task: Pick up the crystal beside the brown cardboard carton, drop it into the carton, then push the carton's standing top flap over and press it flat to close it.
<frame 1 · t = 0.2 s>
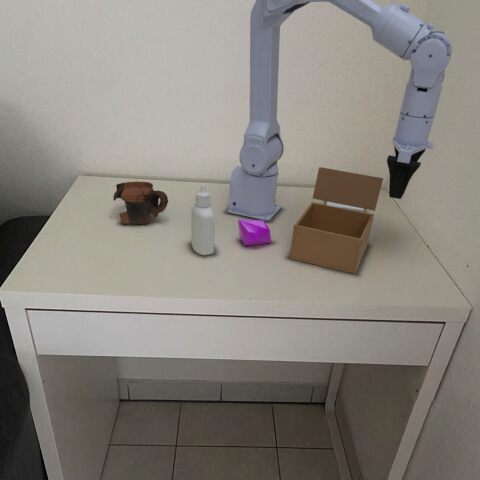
hand: (397, 190, 92), 10 cm above the table, tool pointing down, fingers open, 7 cm apart
pottery mug: (142, 217, 101), on the table
crystal: (254, 243, 94), on the table
carton: (329, 251, 92), on the table
eye dropper bottle: (202, 249, 91), on the table
carton flap: (346, 188, 92), point 10 cm above the table, hinge at 110.0°
hard drive: (344, 204, 112), on the table
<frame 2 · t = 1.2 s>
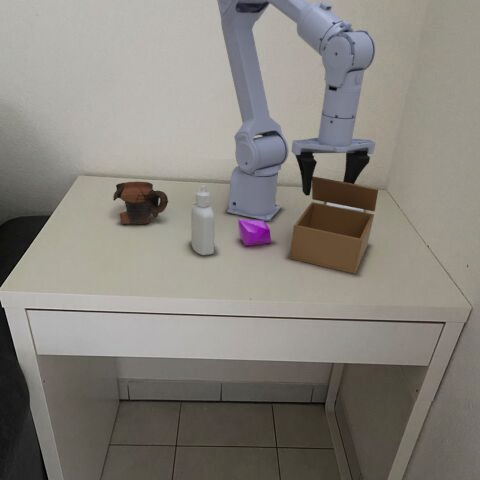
hand: (326, 192, 90), 10 cm above the table, tool pointing down, fingers open, 7 cm apart
carton flap: (343, 194, 90), point 10 cm above the table, hinge at 60.4°, touching gripper
everything else where it was.
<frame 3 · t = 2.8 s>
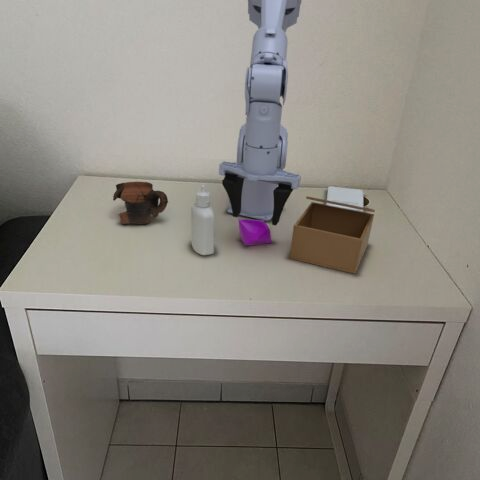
hand: (255, 219, 91), 5 cm above the table, tool pointing down, fingers open, 7 cm apart
carton flap: (340, 204, 90), point 8 cm above the table, hinge at 22.1°
everything else where it was.
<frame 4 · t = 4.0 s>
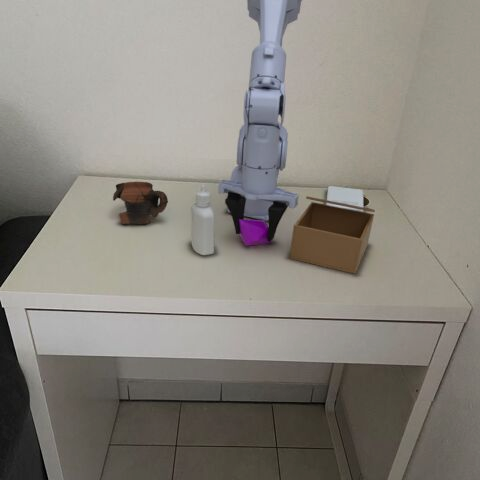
hand: (254, 235, 93), 1 cm above the table, tool pointing down, fingers closed on crystal, 6 cm apart
crystal: (254, 243, 94), on the table, touching gripper
everything else where it was.
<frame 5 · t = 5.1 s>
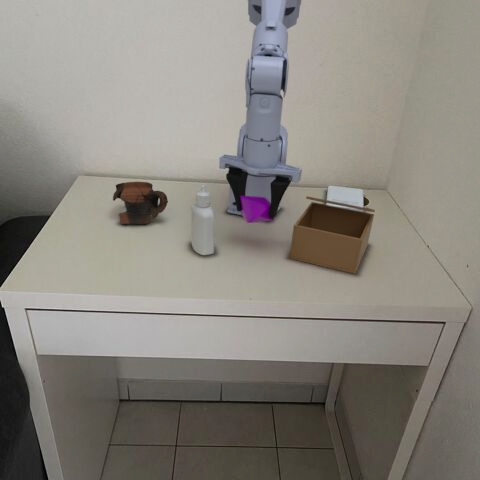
hand: (256, 212, 90), 6 cm above the table, tool pointing down, fingers closed on crystal, 6 cm apart
crystal: (256, 221, 91), point 4 cm above the table, touching gripper
everything else where it was.
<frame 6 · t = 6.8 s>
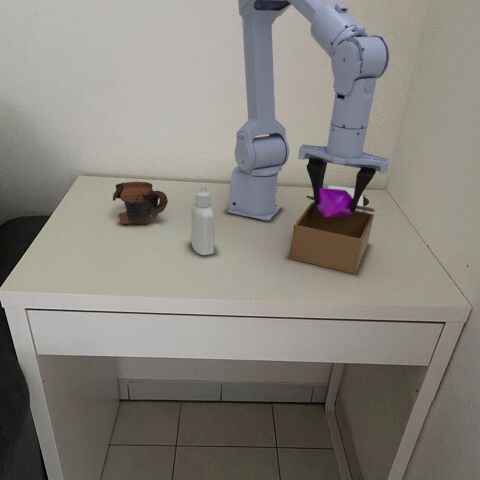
hand: (334, 206, 85), 10 cm above the table, tool pointing down, fingers closed on crystal, 6 cm apart
crystal: (333, 215, 86), point 8 cm above the table, touching carton flap, gripper
carton flap: (340, 203, 90), point 8 cm above the table, hinge at 23.5°, touching crystal
everything else where it was.
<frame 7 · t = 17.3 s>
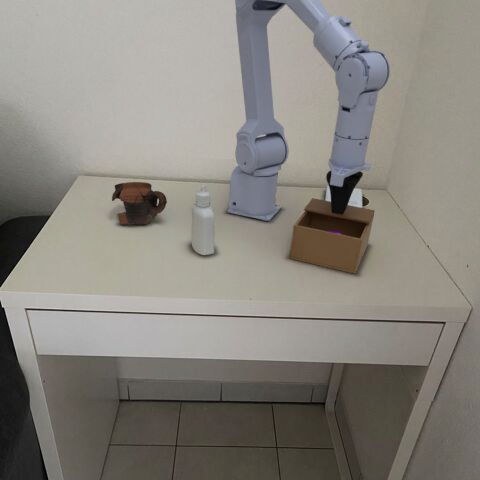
hand: (338, 212, 89), 7 cm above the table, tool pointing down, fingers closed, pressing on carton flap
crystal: (328, 255, 90), resting on carton
carton flap: (339, 210, 90), point 7 cm above the table, hinge at 0.7°, touching gripper
everything else where it was.
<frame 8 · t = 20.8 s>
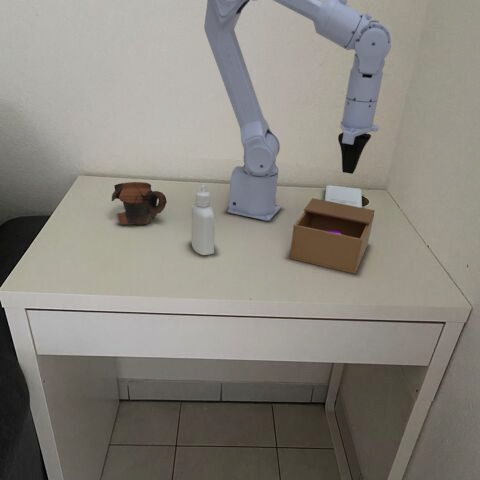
hand: (348, 172, 98), 10 cm above the table, tool pointing down, fingers closed
carton flap: (339, 210, 90), point 7 cm above the table, hinge at -0.6°
everything else where it was.
at the end: crystal inside the target area in the carton (2.0 cm from its centre), point 0.3 cm above the carton's base; carton flap at -1° (first picture: +110°) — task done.
